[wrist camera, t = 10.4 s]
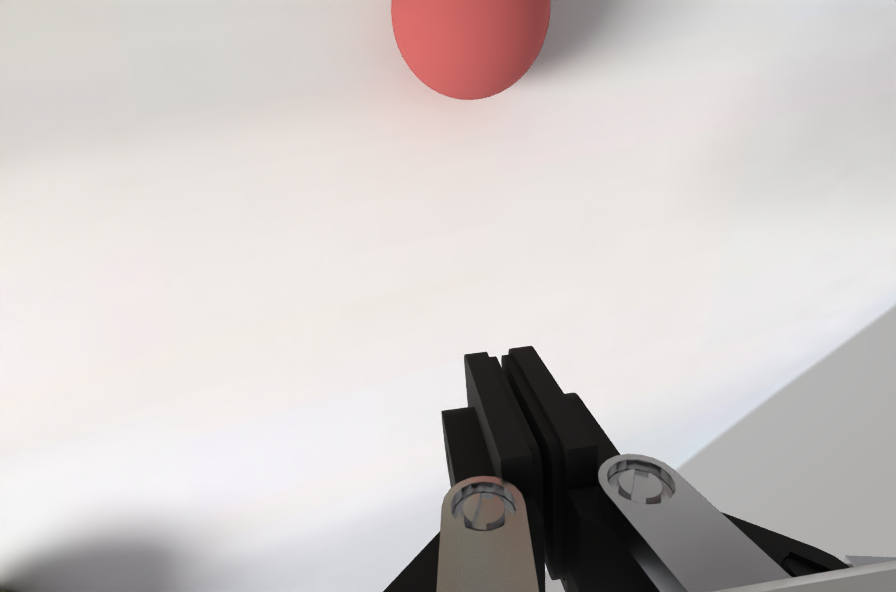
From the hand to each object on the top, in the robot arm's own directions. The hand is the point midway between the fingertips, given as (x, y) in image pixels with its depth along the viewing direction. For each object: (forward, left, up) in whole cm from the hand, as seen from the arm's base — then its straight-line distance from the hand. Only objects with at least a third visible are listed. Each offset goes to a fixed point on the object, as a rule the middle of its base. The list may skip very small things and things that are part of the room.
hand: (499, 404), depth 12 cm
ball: (-10, +2, -10) cm, 15 cm away
